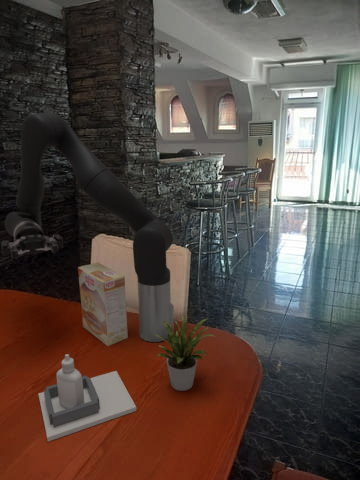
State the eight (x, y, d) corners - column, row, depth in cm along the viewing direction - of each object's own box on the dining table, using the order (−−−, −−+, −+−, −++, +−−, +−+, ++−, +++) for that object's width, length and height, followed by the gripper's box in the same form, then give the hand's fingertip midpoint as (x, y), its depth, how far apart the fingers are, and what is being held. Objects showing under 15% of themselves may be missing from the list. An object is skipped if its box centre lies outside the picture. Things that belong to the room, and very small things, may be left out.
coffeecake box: (82, 326, 113) (76, 267, 108) (102, 319, 118) (98, 261, 112) (107, 347, 102) (102, 281, 97) (128, 338, 107) (125, 275, 101)
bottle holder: (116, 374, 91) (115, 361, 90) (136, 410, 79) (135, 396, 78) (38, 397, 83) (37, 383, 82) (47, 441, 71) (45, 426, 70)
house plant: (223, 371, 91) (225, 312, 87) (209, 410, 79) (210, 342, 74) (169, 361, 96) (168, 303, 91) (148, 395, 83) (145, 330, 79)
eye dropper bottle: (66, 416, 76) (60, 365, 73) (57, 400, 80) (52, 352, 77) (86, 407, 78) (82, 358, 75) (77, 392, 83) (72, 345, 79)
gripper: (-2, 226, 97) (0, 241, 83) (54, 220, 103) (65, 233, 90) (2, 253, 99) (5, 272, 85) (57, 245, 106) (68, 262, 92)
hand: (35, 252), depth 88 cm, fingers open, 8 cm apart
